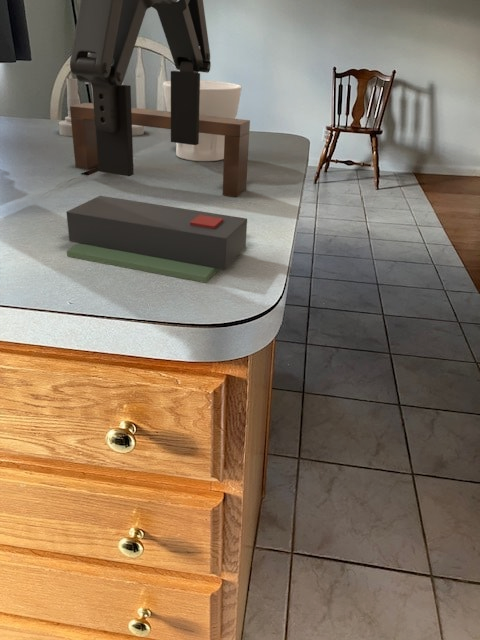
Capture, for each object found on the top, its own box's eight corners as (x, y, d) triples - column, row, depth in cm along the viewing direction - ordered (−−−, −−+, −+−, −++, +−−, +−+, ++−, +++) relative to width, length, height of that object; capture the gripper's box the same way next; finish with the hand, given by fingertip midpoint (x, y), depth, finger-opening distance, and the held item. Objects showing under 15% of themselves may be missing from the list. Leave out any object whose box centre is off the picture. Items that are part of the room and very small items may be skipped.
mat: (66, 256, 50) (66, 250, 50) (120, 224, 59) (120, 219, 59) (206, 283, 47) (206, 276, 47) (242, 245, 55) (242, 239, 55)
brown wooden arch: (75, 173, 76) (69, 105, 72) (91, 167, 80) (86, 102, 75) (236, 197, 70) (240, 124, 66) (246, 189, 74) (250, 120, 69)
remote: (69, 241, 52) (65, 208, 51) (102, 223, 57) (99, 192, 56) (225, 270, 48) (226, 235, 47) (245, 247, 53) (247, 215, 52)
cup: (167, 164, 84) (166, 87, 78) (161, 147, 94) (159, 78, 89) (245, 164, 86) (249, 90, 81) (231, 148, 97) (234, 81, 92)
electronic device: (146, 84, 95) (56, 79, 90) (146, 142, 99) (60, 140, 94) (140, 81, 99) (54, 76, 94) (140, 136, 104) (58, 135, 99)
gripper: (103, -219, 27) (122, 198, 37) (252, -111, 48) (237, 138, 58) (-22, -214, 29) (30, 183, 39) (174, -111, 50) (174, 129, 60)
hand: (154, 156), depth 49 cm, fingers open, 13 cm apart
